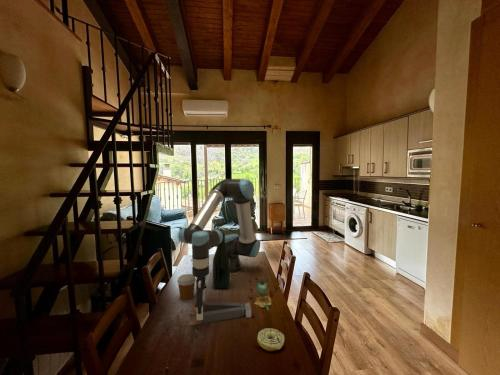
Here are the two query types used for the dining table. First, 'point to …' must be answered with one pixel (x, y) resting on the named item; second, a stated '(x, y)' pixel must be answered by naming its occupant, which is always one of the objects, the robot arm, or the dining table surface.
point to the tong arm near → (218, 315)
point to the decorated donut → (268, 343)
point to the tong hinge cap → (247, 310)
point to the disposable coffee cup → (186, 286)
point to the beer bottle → (221, 267)
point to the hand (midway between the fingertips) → (201, 310)
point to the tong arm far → (216, 306)
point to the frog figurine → (262, 300)
